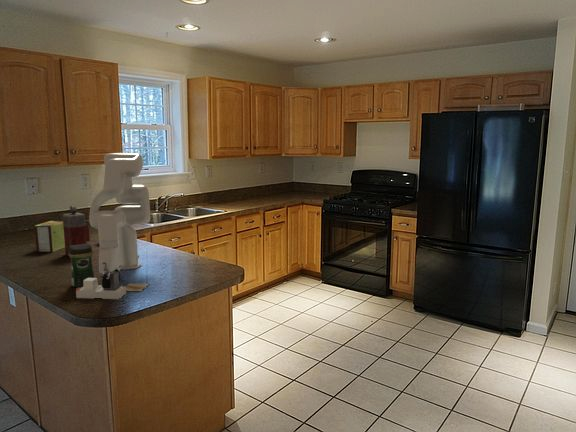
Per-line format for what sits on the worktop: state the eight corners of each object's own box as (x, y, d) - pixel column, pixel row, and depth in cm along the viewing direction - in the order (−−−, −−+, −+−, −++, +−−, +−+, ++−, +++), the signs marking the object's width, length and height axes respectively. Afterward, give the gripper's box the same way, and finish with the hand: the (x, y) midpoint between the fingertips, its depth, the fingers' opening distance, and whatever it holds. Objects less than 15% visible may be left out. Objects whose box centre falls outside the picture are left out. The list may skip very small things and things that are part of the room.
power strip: (75, 297, 181) (74, 281, 180) (84, 292, 188) (83, 276, 187) (119, 299, 180) (118, 282, 179) (126, 293, 187) (125, 277, 186)
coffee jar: (93, 280, 204) (90, 241, 201) (96, 285, 197) (93, 244, 194) (70, 284, 198) (67, 244, 195) (72, 289, 192) (69, 247, 189)
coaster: (129, 284, 198) (129, 283, 198) (148, 285, 197) (148, 284, 197) (120, 291, 189) (120, 290, 189) (140, 292, 189) (140, 290, 189)
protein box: (68, 246, 269) (66, 221, 266) (52, 252, 254) (50, 225, 251) (52, 245, 270) (50, 220, 267) (35, 251, 255) (33, 225, 252)
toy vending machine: (91, 254, 251) (88, 205, 246) (71, 257, 243) (67, 207, 238) (85, 251, 257) (82, 203, 252) (65, 254, 249) (61, 205, 244)
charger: (104, 290, 181) (103, 273, 180) (109, 287, 186) (108, 270, 184) (114, 291, 181) (113, 274, 180) (119, 287, 185) (118, 271, 184)
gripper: (109, 238, 189) (112, 277, 192) (89, 248, 172) (92, 291, 175) (127, 239, 188) (129, 278, 191) (108, 249, 171) (110, 291, 174)
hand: (111, 284), depth 183 cm, fingers open, 8 cm apart
